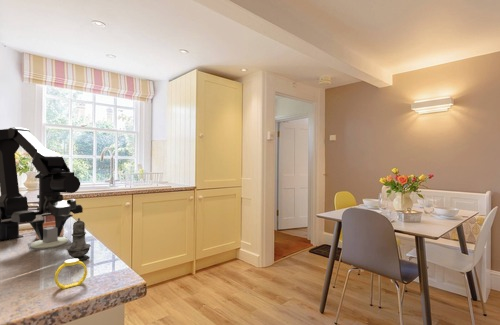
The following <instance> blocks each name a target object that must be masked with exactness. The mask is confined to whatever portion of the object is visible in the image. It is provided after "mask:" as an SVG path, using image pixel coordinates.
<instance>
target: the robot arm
mask: <svg viewBox="0 0 500 325" xmlns="http://www.w3.org/2000/svg"><path fill="white" fill-rule="evenodd" d="M20 147H21V148H22V149H23V150H24V151H25V152H26V153H27V154H28V155H29V156H30V157H31V159H32V160H31V164H32V166H33V167H34V169H35V170H37V171H38V173H37V174H36V175H35V176H34V179H38V194H37V196H36V198H37V199H38V205H39V206H38V207H36V211H34V210H33V211H32V210H29V205H28V197H27V196H25V195H23V194H21V193H20V188H19V180H18V179H19V178H18V170H17V163H16V153H17V151H18V149H20ZM80 187H81V181H80V179H79V178H78V177H77V176H76V175H75V171H71V170H70V168H69V167H68V165H67V163H66V161H65V158H64V157H63V156H62V155H60V154H59V153H57V152H55V151H52V150H50V149H48V148H46V147H45V146H44V145H43V144H42V143H41V142H40V141H39V140H38V138H36V137H35V136H34V135H33V134H32V133H31V131H30V129H27V128H24V127H9V128H4V129H3V128H2V129H0V242H7V241H11V240H15V239H21V238H24V235H20V224H22V223H29V224H30V225H31V227H32V228H33V230H34V232H35V234H36V233H37V235H38V237H39V239H38V240H43V236H44V235H43V223H44V221H45V220H42V216H48V215H53V216H55V226H56V227H57V234H58V236H60V234H61V231H62V229H63V226H64V227H65V224H66V223H67V220H68V219H69V218H72V217H73V216H74V215H77V214H81V213H83V211H84V210H83V208H84V207H83V206H82V205H81V204H78V203H77V200H76V199H75V198H69V199H66V200H64V195H63V194H62V193H64V194H73V193H76V192H77V191H78V190H79V189H80ZM71 213H72V214H71ZM73 214H74V215H73Z"/></svg>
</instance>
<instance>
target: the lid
mask: <svg viewBox="0 0 500 325" xmlns="http://www.w3.org/2000/svg"><path fill="white" fill-rule="evenodd" d="M43 235H44V236H43V240H40V239H37V240H35V241H32V242H30V243H31V248H35V249H43V248H49V249H52V248H51V247H54V248H57V247H56V246H60V245H63V244H65V243H67V242H68V239H69V237H67V236H66V237H67V238H66V237H65V236H61V237H58V234H57V227H48V228H43ZM60 247H61V246H60ZM43 250H44V249H43Z"/></svg>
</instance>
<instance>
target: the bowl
mask: <svg viewBox="0 0 500 325" xmlns="http://www.w3.org/2000/svg"><path fill="white" fill-rule="evenodd" d="M48 227H56V226H55V221H53V222H45V223H43V228H48ZM64 228H65V225H64V226H63V229H62V231H61V234H60V236H58V237H64ZM35 238H36V240H40V239H39V237H38V235H37V233H36V232H35Z"/></svg>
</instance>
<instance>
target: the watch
mask: <svg viewBox="0 0 500 325" xmlns="http://www.w3.org/2000/svg"><path fill="white" fill-rule="evenodd" d="M74 265H80V266H82V267H83V268H84V273H83V275H82V277H81V278H80V279H79V281H77V282H73V283H69V284H65V285H64V284H62V283H60V282H59V280H58V276H59V273H60V272H61V270H62V269H64V268H66V267H68V266H69V267H70V266H74ZM87 276H88V267H87V266H86V265H85V263H84V261H83V262H81V261H79V259H76V258H74V259H70V258H69V259H65V260H64V262H63V264H61V265H59V266H58V268H57V270H56V271H55V273H54V283H55V284H56V286H57V287H58V288H60V289H62V290H66V289H69V288H73V287H77V286H80V285H81V284H83V282H85V280H86V279H87Z"/></svg>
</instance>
